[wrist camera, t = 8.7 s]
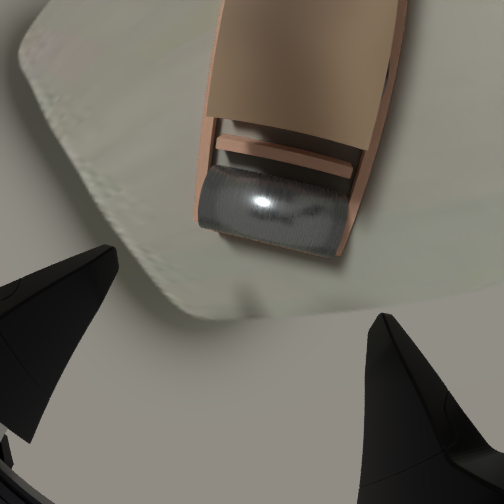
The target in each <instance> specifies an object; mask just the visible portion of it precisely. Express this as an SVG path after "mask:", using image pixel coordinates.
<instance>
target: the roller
mask: <svg viewBox="0 0 504 504" xmlns="http://www.w3.org/2000/svg"><path fill="white" fill-rule="evenodd" d="M347 214H348V197H347V195H346V194H343V193H340V192H336V191H332V190H329V189H325V188H321V187H317V186H313V185H310V184H306V183H301V182H297V181H293V180H289V179H285V178H280V177H276V176H272V175H267V174H262V173H258V172H253V171H248V170H243V169H238V168H233V167H228V166H222V165H217V164H214V165H213V166H212V167H211V168H210V169H209V171H208V173H207V175H206V177H205V180H204V182H203V186H202V189H201V193H200V198H199V204H198V222H199V226H200V227H201V228H205V229H210V230H214V231H218V232H223V233H227V234H231V235H235V236H240V237H244V238H248V239H252V240H256V241H261V242H265V243H269V244H273V245H277V246H281V247H286V248H290V249H294V250H298V251H302V252H306V253H310V254H314V255H318V256H322V257H326V258H332V257H333V256H334V255H335V253H336V252H337V250H338V247H339V245H340V242H341V240H342V236H343V233H344V229H345V225H346V220H347Z"/></svg>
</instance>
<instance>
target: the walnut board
mask: <svg viewBox="0 0 504 504" xmlns="http://www.w3.org/2000/svg"><path fill="white" fill-rule="evenodd" d="M397 6H398V0H225V3H224V8H223V13H222V18H221V23H220V28H219V34H218V39H217V45H216V51H215V57H214V63H213V70H212V76H211V83H210V90H209V98H208V105H207V113H206V116H207V117H215V118H223V119H230V120H237V121H243V122H249V123H255V124H261V125H266V126H271V127H276V128H281V129H286V130H291V131H295V132H300V133H304V134H308V135H312V136H316V137H320V138H324V139H328V140H332V141H335V142H339V143H343V144H346V145H349V146H353V147H356V148H359V149H363V150H366V151H368V148H369V144H370V141H371V137H372V133H373V129H374V126H375V122H376V118H377V114H378V109H379V105H380V101H381V97H382V92H383V88H384V83H385V78H386V73H387V68H388V63H389V58H390V52H391V47H392V41H393V35H394V28H395V21H396V14H397Z"/></svg>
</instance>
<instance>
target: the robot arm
mask: <svg viewBox="0 0 504 504" xmlns="http://www.w3.org/2000/svg"><path fill="white" fill-rule="evenodd" d="M118 269H119V264H118V257H117V250H116V248H115V247H114V246H111V245H107V244H104V245H101V246H99V247H96V248H94V249H91V250H88V251H86V252H83V253H80V254H78V255H75V256H73V257H70V258H68V259H66V260H63V261H60V262H58V263H55V264H53V265H51V266H48V267H46V268H44V269H41V270H39V271H36V272H34V273H32V274H29V275H27V276H25V277H23V278H20V279H18V280H16V281H13V282H11V283H9V284H6V285H4V286H2V287H0V504H55V503H53V502H52V501H50V500H49V499H47V498H46V497H45V496H43V495H42V494H41V493H39V492H38V491H37V490H35V489H34V488H32V486H30V485H29V484H28V483H27V482H25V481H24V480H23V479H22V478H20V477H19V476H18V475H17V474H16V473H15V472H14V471H12V470H11V469H12V466H13V465H14V463H13V460H12V456H11V451H10V447H9V442H8V438H7V435H5V432H6V430H7V429H9V430H11V431H12V432H13V433H15V434H16V435H17V436H19V437H20V438H22V439H23V440H25V441H26V442H28V443H29V444H30V443H31V441H32V438H33V436H34V434H35V431H36V429H37V426H38V424H39V422H40V419H41V417H42V415H43V413H44V410H45V408H46V406H47V404H48V402H49V400H50V399H49V398H50V397H51V395H52V393H53V391H54V389H55V387H56V385H57V383H58V381H59V379H60V377H61V375H62V373H63V371H64V369H65V367H66V365H67V363H68V361H69V360H70V358H71V356H72V354H73V352H74V350H75V349H76V347H77V345H78V343H79V342H80V340H81V338H82V336H83V335H84V333H85V331H86V329H87V327H88V326H89V324H90V323H91V321H92V319H93V318H94V316H95V314H96V313H97V311H98V309H99V308H100V306H101V304H102V302H103V300H104V298H105V296H106V294H107V292H108V290H109V288H110V286H111V284H112V282H113V280H114V278H115V276H116V274H117V272H118ZM359 487H360V488H359V493H358V500H357V504H504V453H501V452H498V451H497V450H495V449H493V448H492V447H491V446H490V445H489V444H488V443H487V442H486V441H485V439H484V438H483V437H482V435H481V434H480V433H479V431H478V430H477V429H476V427H475V426H474V425H473V423H472V422H471V421H470V419H469V418H468V417H467V415H466V414H465V413H464V412H463V410H462V409H461V407H460V406H459V404H458V403H457V402H456V400H455V399H454V397H453V396H452V394H451V393H450V391H448V389H447V387H446V386H445V385H444V383H443V382H442V380H441V379H440V377H439V376H438V374H437V373H436V372H435V371H434V369H433V368H432V366H431V365H430V364H429V362H428V361H427V359H426V358H425V357H424V355H423V354H422V353H421V351H420V350H419V349H418V347H417V346H416V345H415V343H414V342H413V341H412V340H411V338H410V337H409V336H408V334H407V333H406V332H405V330H403V328H402V327H401V325H400V324H399V323H398V322H397V320H396V319H395V318H394V317H393V316H392V315H391V314H386V313H380V314H379V315H378V316H377V318H376V320H375V321H374V323H373V325H372V326H371V328H370V329H369V332H368V339H367V354H366V366H365V416H364V439H363V455H362V466H361V476H360V485H359Z"/></svg>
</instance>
